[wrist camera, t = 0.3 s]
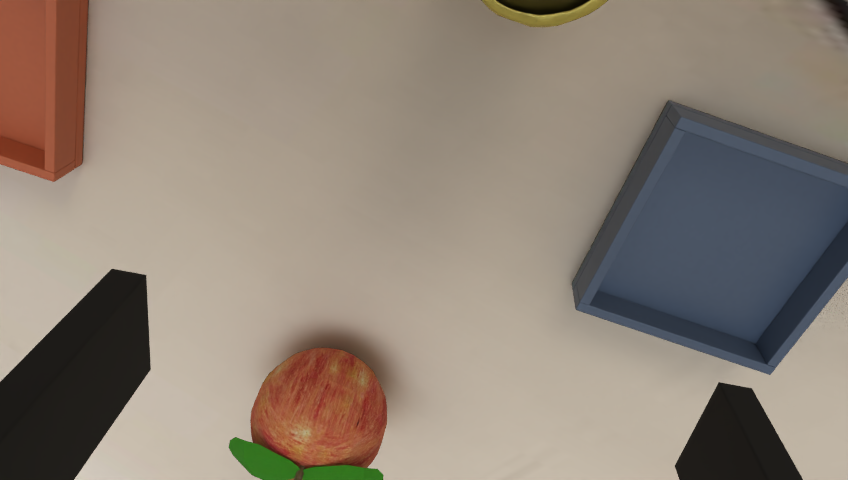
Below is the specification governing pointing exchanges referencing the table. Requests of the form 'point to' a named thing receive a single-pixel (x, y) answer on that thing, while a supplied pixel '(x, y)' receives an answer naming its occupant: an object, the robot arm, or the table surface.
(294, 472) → the fruit
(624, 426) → the table surface
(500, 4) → the vase
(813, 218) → the slate tray
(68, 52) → the terracotta tray
